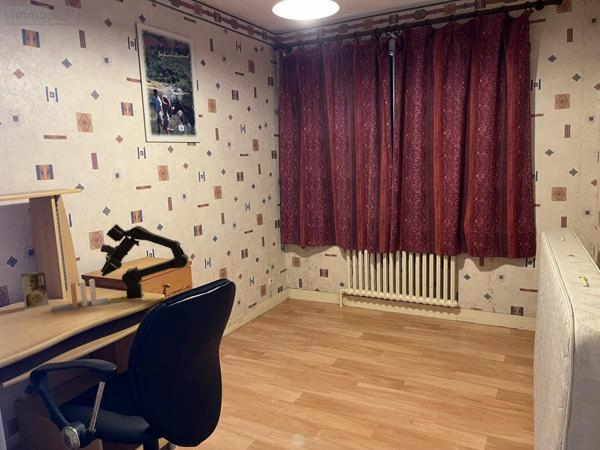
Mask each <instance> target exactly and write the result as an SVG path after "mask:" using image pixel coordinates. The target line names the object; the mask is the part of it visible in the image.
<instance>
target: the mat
mask: <svg viewBox="0 0 600 450" xmlns="http://www.w3.org/2000/svg"><path fill="white" fill-rule="evenodd" d="M96 300H97V304H95V305H92V302H91V300H87V306H82V301H80V302H77V304H78V307H76V308H73V304H72V303H67V304H60V305H53V306H51V314H57V313H61V312H62V313H63V312H69V311H74V310H80V309H86V308H87V309H88V308H93V307H94V308H95V307H98V306H104V305H111V302H110V300H109V297H104V298H98V299H96Z"/></svg>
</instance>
